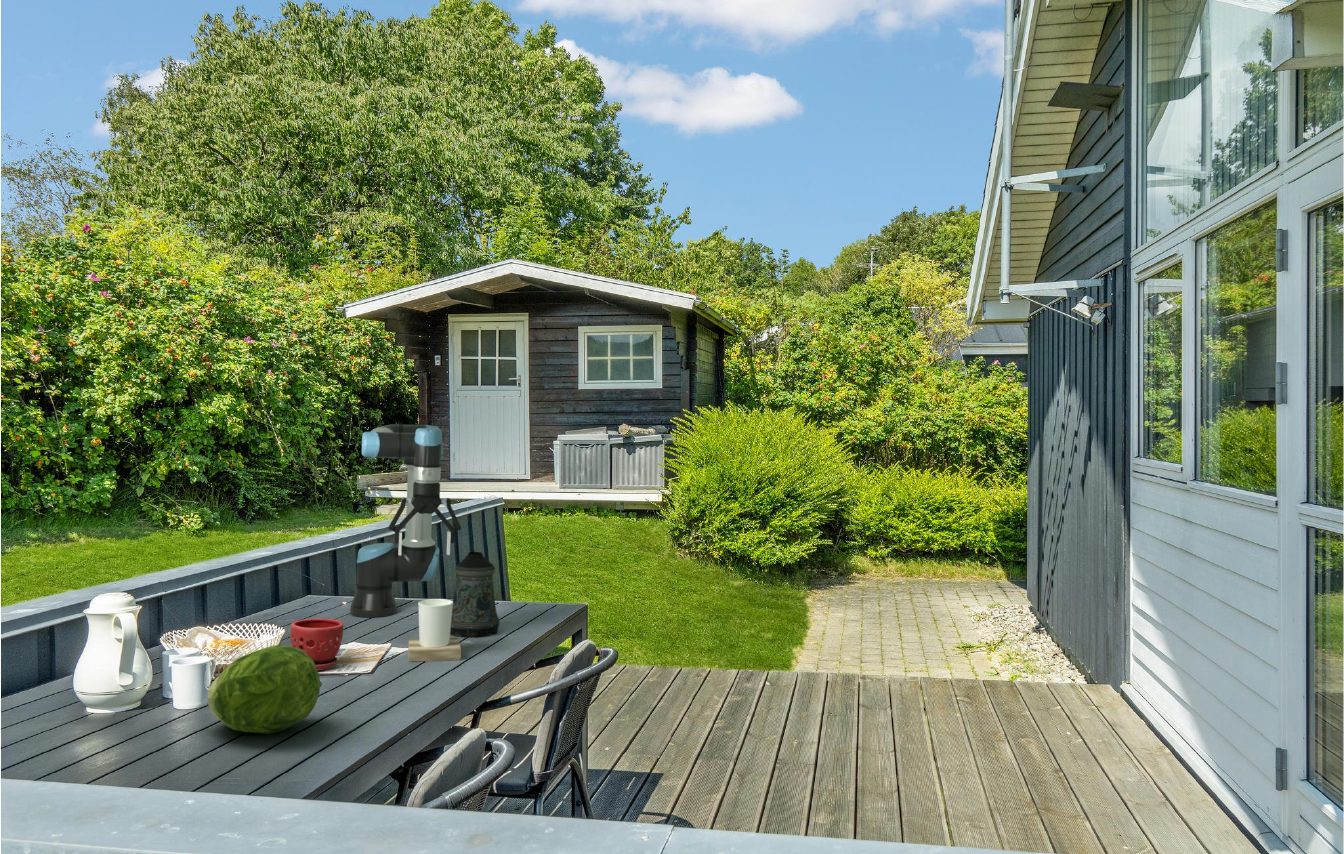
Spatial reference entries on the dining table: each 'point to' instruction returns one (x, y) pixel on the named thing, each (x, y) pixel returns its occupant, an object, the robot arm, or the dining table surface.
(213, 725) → the dining table surface
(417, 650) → the plinth
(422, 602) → the candle holder
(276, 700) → the lettuce
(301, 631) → the plant pot
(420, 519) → the robot arm
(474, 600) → the beer stein
